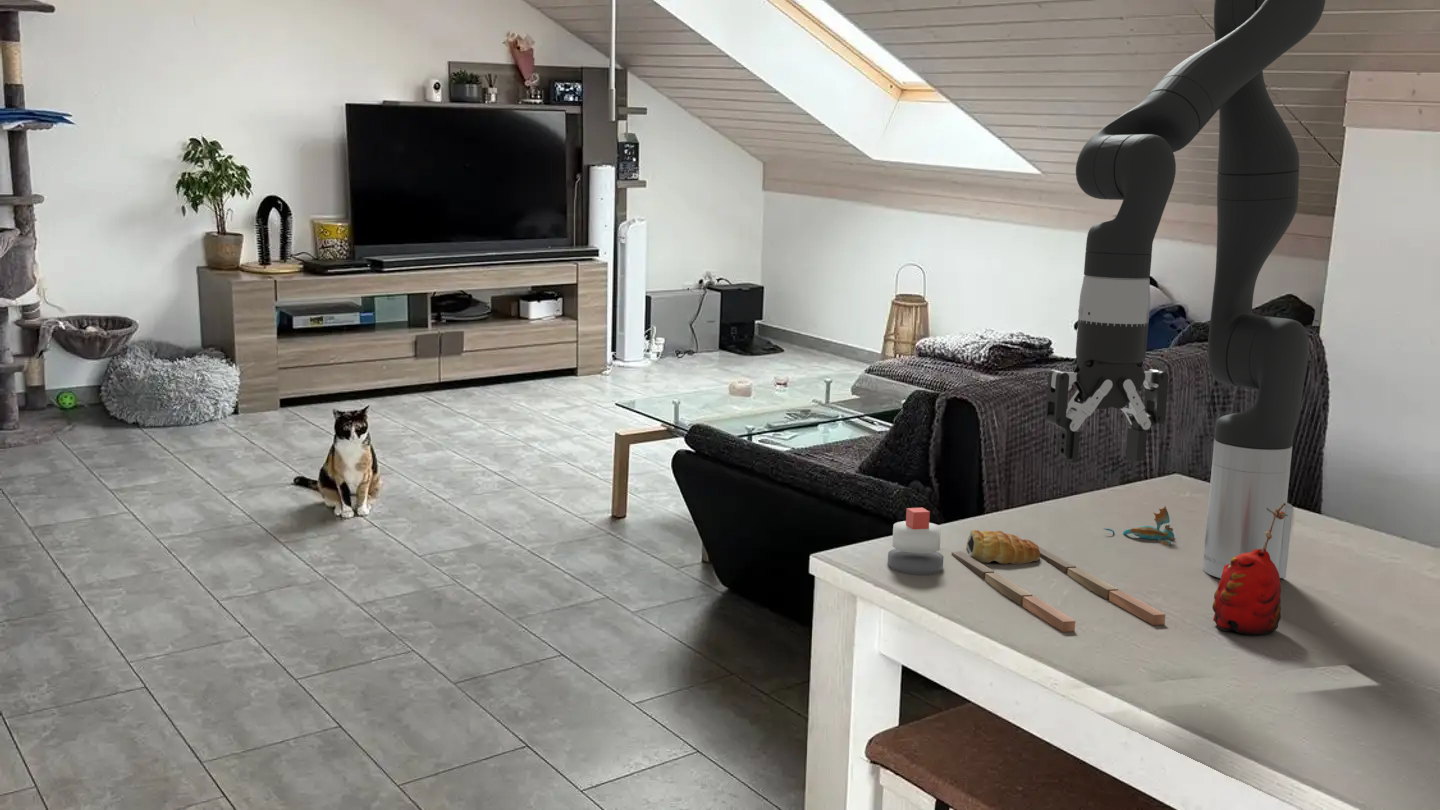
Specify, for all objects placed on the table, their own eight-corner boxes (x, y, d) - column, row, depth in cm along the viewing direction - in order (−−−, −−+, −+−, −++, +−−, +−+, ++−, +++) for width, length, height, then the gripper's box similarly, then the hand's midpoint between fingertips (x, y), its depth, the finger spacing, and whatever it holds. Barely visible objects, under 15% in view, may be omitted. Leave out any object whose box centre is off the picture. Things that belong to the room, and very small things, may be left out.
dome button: (927, 539, 169) (929, 503, 168) (948, 551, 163) (950, 514, 162) (885, 541, 167) (886, 505, 166) (903, 554, 161) (905, 516, 161)
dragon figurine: (1123, 567, 184) (1180, 560, 180) (1103, 551, 179) (1161, 544, 174) (1122, 523, 187) (1178, 516, 182) (1102, 506, 182) (1159, 498, 177)
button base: (928, 561, 170) (929, 546, 169) (952, 576, 163) (952, 561, 163) (878, 564, 168) (879, 549, 168) (900, 579, 161) (901, 564, 161)
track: (1039, 555, 174) (1040, 547, 174) (1164, 624, 147) (1165, 614, 147) (951, 561, 170) (951, 552, 170) (1062, 632, 144) (1063, 621, 143)
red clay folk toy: (1222, 613, 152) (1233, 488, 149) (1286, 626, 148) (1299, 498, 145) (1204, 630, 146) (1216, 500, 143) (1271, 644, 142) (1284, 510, 139)
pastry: (1032, 554, 173) (1034, 527, 173) (1045, 567, 167) (1047, 538, 166) (962, 552, 173) (964, 524, 173) (972, 565, 167) (974, 536, 166)
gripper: (1073, 321, 139) (1062, 470, 141) (1189, 321, 143) (1176, 467, 145) (1038, 314, 146) (1028, 456, 149) (1150, 314, 150) (1138, 453, 152)
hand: (1101, 461), depth 147 cm, fingers open, 7 cm apart
